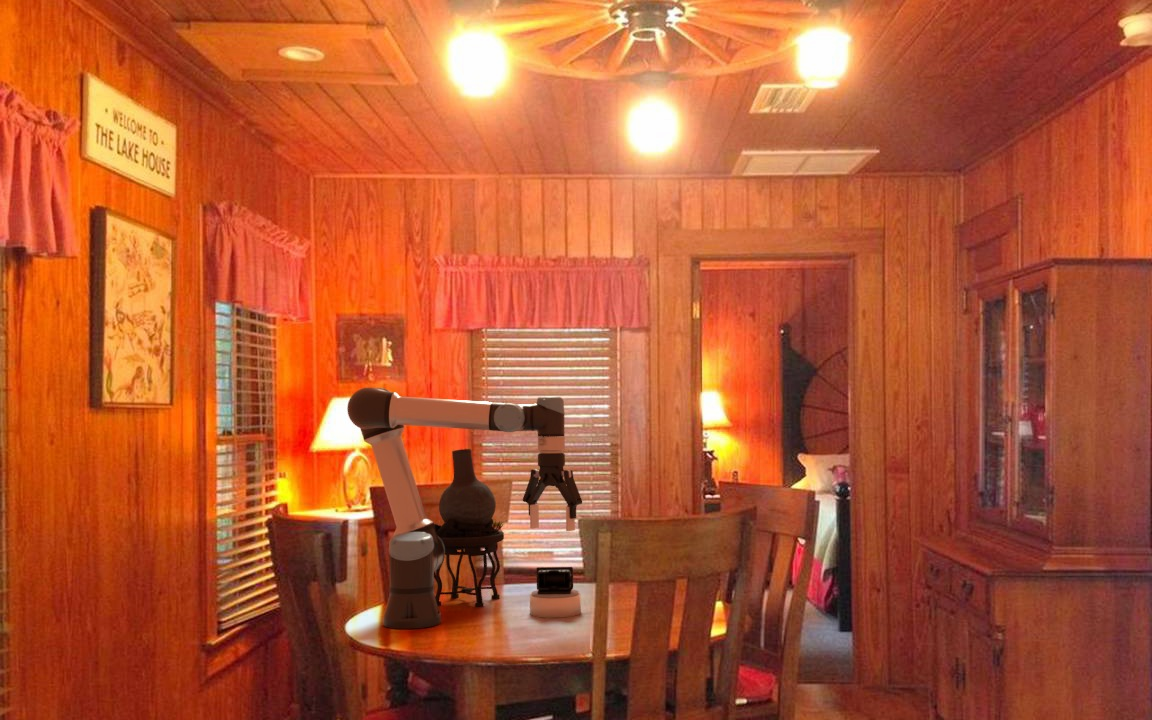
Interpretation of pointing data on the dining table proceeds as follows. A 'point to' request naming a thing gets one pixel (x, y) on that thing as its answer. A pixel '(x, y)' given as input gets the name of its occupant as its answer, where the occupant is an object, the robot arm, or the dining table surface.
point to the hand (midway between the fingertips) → (552, 529)
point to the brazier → (468, 526)
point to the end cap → (554, 580)
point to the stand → (555, 604)
